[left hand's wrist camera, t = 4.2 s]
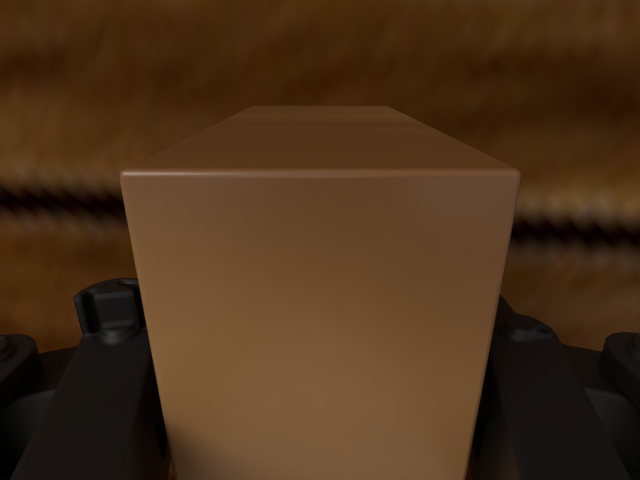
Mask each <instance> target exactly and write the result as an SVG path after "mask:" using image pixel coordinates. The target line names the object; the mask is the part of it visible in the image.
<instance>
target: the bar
mask: <svg viewBox="0 0 640 480" xmlns="http://www.w3.org/2000/svg"><path fill="white" fill-rule="evenodd" d="M520 181H521V173H520V170H518V169H516V168H514V167H512V166H510V165H508V164H506V163H504V162H502V161H500V160H498V159H496V158H494V157H492V156H489V155H487V154H485V153H483V152H481V151H479V150H477V149H475V148H473V147H471V146H469V145H467V144H465V143H463V142H461V141H459V140H457V139H455V138H452V137H450V136H448V135H446V134H444V133H442V132H440V131H438V130H436V129H434V128H432V127H430V126H428V125H426V124H424V123H422V122H420V121H418V120H415V119H413V118H411V117H409V116H407V115H405V114H403V113H401V112H399V111H397V110H395V109H393V108H391V107H389V106H252V107H249V108H247V109H245V110H243V111H241V112H239V113H237V114H235V115H233V116H231V117H229V118H227V119H225V120H223V121H221V122H219V123H217V124H215V125H213V126H210V127H208V128H206V129H204V130H202V131H200V132H198V133H196V134H194V135H192V136H190V137H188V138H186V139H184V140H182V141H180V142H178V143H176V144H174V145H172V146H169V147H167V148H165V149H163V150H161V151H159V152H157V153H155V154H153V155H151V156H149V157H147V158H145V159H143V160H141V161H139V162H137V163H135V164H133V165H131V166H128V167H126V168H124V169H122V170H121V172H120V183H121V189H122V194H123V200H124V205H125V211H126V216H127V222H128V227H129V232H130V238H131V243H132V249H133V254H134V260H135V265H136V271H137V276H138V281H139V287H140V292H141V298H142V303H143V309H144V314H145V319H146V325H147V330H148V336H149V341H150V347H151V352H152V358H153V363H154V368H155V374H156V379H157V385H158V390H159V396H160V401H161V406H162V412H163V417H164V423H165V428H166V434H167V439H168V445H169V450H170V455H171V461H172V466H173V472H174V477H175V480H466V474H467V469H468V463H469V458H470V453H471V447H472V442H473V436H474V431H475V425H476V420H477V415H478V409H479V404H480V398H481V393H482V387H483V382H484V377H485V371H486V366H487V360H488V355H489V350H490V344H491V339H492V333H493V328H494V322H495V317H496V312H497V306H498V301H499V295H500V290H501V284H502V279H503V274H504V268H505V263H506V257H507V252H508V247H509V241H510V236H511V230H512V225H513V219H514V214H515V209H516V203H517V198H518V192H519V187H520Z"/></svg>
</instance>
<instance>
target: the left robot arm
mask: <svg viewBox="0 0 640 480" xmlns="http://www.w3.org/2000/svg"><path fill="white" fill-rule="evenodd" d="M73 299H74V303H75V307H76V311H77V314H78V318H79V322H80V326H81V330H82V334H83V337H82V339H81V341H80V343H79V345H78V346H75V347H71V348H66V349H61V350H56V351H50V352H45V353H40V354H39V353H38V349H37V346H36V343H35V340H34V339H32V338H31V337H30V336H28V335H21V334H11V335H0V480H168V474H169V466H170V458H171V455H170V450H169V445H168V439H167V434H166V428H165V423H164V417H163V412H162V406H161V401H160V396H159V390H158V385H157V379H156V374H155V368H154V363H153V358H152V352H151V347H150V341H149V336H148V330H147V325H146V319H145V314H144V309H143V303H142V298H141V292H140V287H139V281H138V279H135V278H118V279H112V280H106V281H103V282H100V283H97V284H94V285H91V286H89V287H87V288H85V289H84V290H82V291H80V292H79V293H78V294H77V295H76V296H75V297H74V298H73ZM470 465H471V473H472V480H640V333H629V332H621V333H614V334H611V335H610V336H609V337H607V338H606V341H605V344H604V347H603V350H602V352H600V351H595V350H589V349H584V348H579V347H573V346H568V345H564V344H561V342H560V340H559V338H558V336H557V335H556V334H555V332H554V331H553V330H552V329H551V328H550V327H549V326H547V325H545V324H544V323H542V322H541V321H539V320H536V319H533V318H531V317H528V316H525V315H520V314H516V313H515V312H514V311H513V309H512V308H511V307H510V306H509V304H508V303H507V302H506V301H505V300H504V298H503V297H502V296H501V295H499V301H498V306H497V312H496V317H495V322H494V328H493V333H492V339H491V344H490V350H489V355H488V360H487V366H486V371H485V377H484V382H483V387H482V393H481V398H480V404H479V409H478V415H477V420H476V425H475V431H474V436H473V442H472V447H471V453H470Z"/></svg>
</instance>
